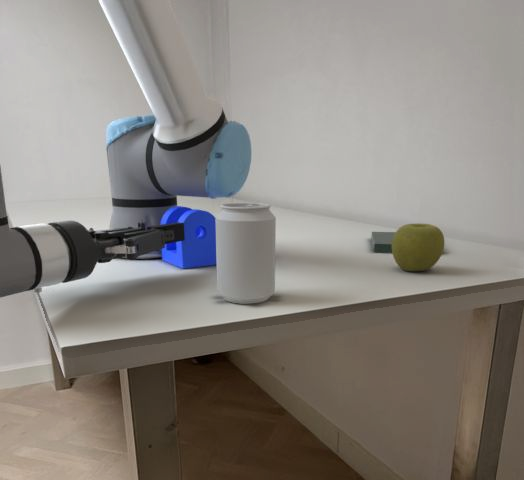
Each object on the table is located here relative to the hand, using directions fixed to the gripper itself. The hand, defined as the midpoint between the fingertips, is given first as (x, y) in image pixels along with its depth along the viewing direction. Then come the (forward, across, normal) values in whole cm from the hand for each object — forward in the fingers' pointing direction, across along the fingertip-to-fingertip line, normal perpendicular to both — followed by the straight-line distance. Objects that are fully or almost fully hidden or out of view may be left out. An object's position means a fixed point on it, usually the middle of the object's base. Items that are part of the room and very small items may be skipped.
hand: (180, 231), depth 87 cm
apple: (+20, +31, -6) cm, 38 cm away
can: (-9, +19, -6) cm, 22 cm away
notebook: (+42, +22, -6) cm, 47 cm away
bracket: (+10, 0, -6) cm, 12 cm away
